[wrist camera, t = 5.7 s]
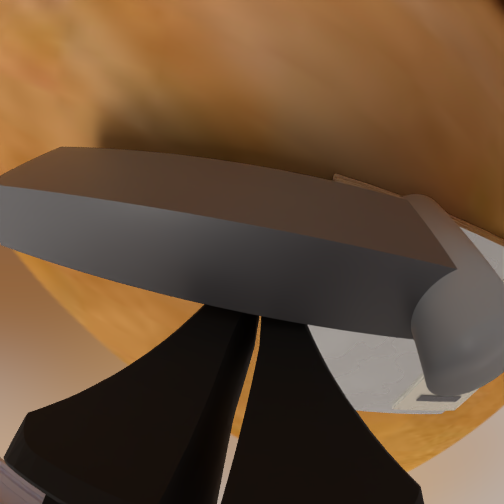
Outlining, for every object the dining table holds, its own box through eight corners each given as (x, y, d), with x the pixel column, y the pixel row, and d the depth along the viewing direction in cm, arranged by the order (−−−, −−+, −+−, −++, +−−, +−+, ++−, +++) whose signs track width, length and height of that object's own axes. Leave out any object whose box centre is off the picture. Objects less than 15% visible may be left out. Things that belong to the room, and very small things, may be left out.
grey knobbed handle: (428, 267, 8) (483, 394, 4) (71, 199, 9) (-27, 277, 5) (454, 205, 7) (546, 317, 3) (66, 138, 8) (-53, 198, 4)
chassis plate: (552, 266, 8) (565, 281, 7) (443, 401, 14) (447, 417, 13) (334, 172, 9) (339, 186, 8) (258, 378, 15) (254, 398, 13)
